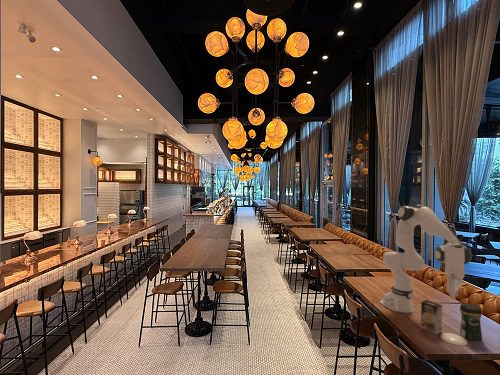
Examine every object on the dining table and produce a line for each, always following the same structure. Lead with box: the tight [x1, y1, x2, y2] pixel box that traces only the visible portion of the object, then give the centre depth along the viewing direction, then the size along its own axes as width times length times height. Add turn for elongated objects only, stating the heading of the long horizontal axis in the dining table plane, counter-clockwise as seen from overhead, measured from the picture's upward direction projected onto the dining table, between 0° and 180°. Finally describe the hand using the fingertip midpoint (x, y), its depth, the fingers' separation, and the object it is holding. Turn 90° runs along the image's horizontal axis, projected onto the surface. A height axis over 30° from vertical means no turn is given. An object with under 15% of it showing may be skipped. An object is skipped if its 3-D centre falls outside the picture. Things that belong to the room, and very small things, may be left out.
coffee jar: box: [459, 303, 483, 341], centre depth 163 cm, size 10×8×19 cm
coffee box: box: [420, 299, 443, 335], centre depth 171 cm, size 9×6×16 cm
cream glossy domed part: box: [440, 332, 468, 347], centre depth 159 cm, size 12×12×1 cm
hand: (454, 297), depth 159 cm, fingers open, 6 cm apart
